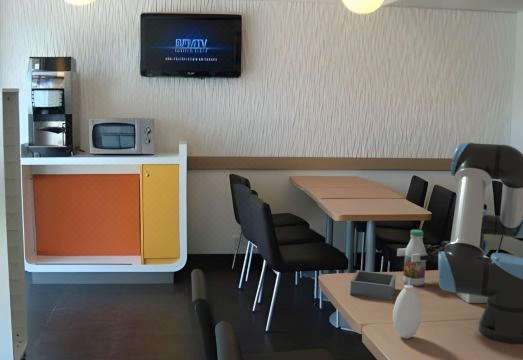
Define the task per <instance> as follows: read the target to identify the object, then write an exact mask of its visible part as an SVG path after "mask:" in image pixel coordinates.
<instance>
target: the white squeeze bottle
mask: <svg viewBox="0 0 523 360" xmlns="http://www.w3.org/2000/svg"><path fill="white" fill-rule="evenodd" d="M419 300H420V299H419V298H418V295H417V293H416V291H415V290H414V285H410V277H409V280H408V284H405V285H404V286H403V289H402V290H401V291H400V292H399V293H398V295H397V297H396V299H395V303H394V306H393V309H392V310H393V311H392V324H393V327H394V330H395V332H396V333H397V334H398V336H399V337H401V338H402V339H410V338H412V337H413V336H415V335H416V334H417V333H418V331H419V328H420V325H421V320H422V319H421V318H422V310H421V304H420V301H419Z"/></svg>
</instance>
